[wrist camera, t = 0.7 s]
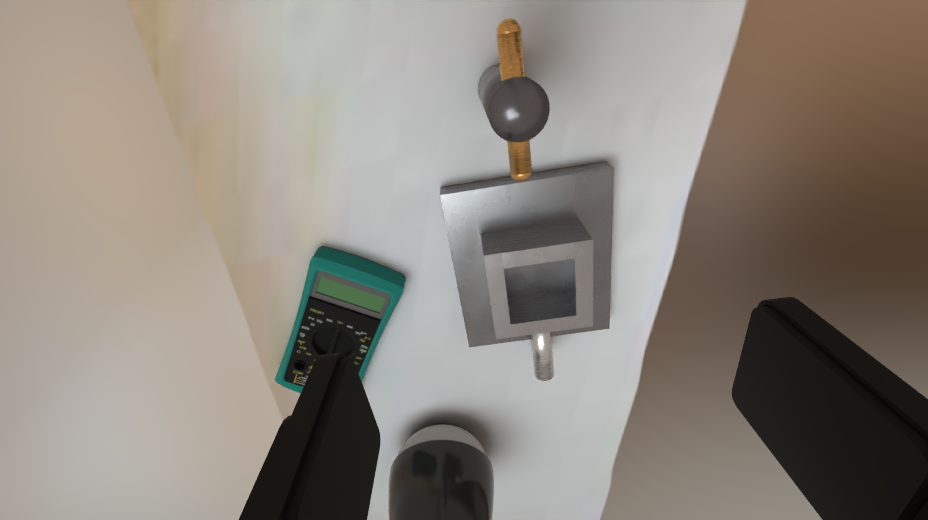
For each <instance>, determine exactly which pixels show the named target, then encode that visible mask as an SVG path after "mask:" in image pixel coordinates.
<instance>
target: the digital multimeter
mask: <svg viewBox="0 0 928 520" xmlns="http://www.w3.org/2000/svg"><path fill="white" fill-rule="evenodd" d="M404 283H405V277H404V276H403V275H401V274H399V273H397V272H395V271H393V270H390V269H388V268H386V267H384V266H381V265H379V264H377V263H374V262H372V261H369V260H366V259H363V258H361V257H358V256H355V255H351V254H348V253H345V252H341V251H338V250H334V249H330V248H326V247H320V248H318V250H317V251H316V253H315V254H314V256H313V257H312V259H311V260H310V264H309V269H308V273H307V277H306V281H305V286H304V290H303V294H302V298H301V302H300V306H299V309H298V313H297V316H296V320H295V323H294V327H293V330H292V333H291V336H290V339H289V342H288V345H287V348H286V351H285V354H284V357H283V359H282V362H281V365H280V367H279V370H278V373H277V375H276V378H275V381H276V382H277V383H278V384H280V385H282V386H284V387H286V388H288V389H291V390H293V391H296V392H298V393H301V392H302V390H303V387H304V385H305V383H306V380H307V378H308V375H309V373H310V371H311V368H312V366H313V364H314V361H315V359H316V358H317V356H319V355H326V354H334V353H344V354H345V356H346V358H352V359H353V360H354V363H355V365H356V368H357V371H358V374H359V376H360V379H361V382H362V380H363V377H364V374H365V372H366V369H367V367H368V364H369V362H370V359H371V357H372V354H373V352H374V350H375V348H376V346H377V344H378V341H379V339H380V337H381V335H382V333H383V330H384V328H385V326H386V324H387V322H388V320H389V318H390V316H391V314H392V313H393V311H394V309H395V307H396V305H397V303H398V301H399V299H400V297H401V295H402V293H403V288H404ZM313 331H314V332H313ZM288 362H289V363H288ZM287 365H288V366H287Z"/></svg>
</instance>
